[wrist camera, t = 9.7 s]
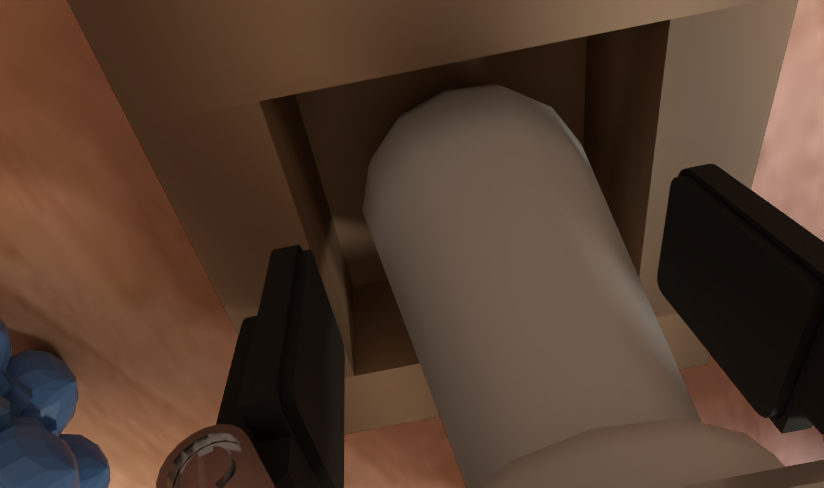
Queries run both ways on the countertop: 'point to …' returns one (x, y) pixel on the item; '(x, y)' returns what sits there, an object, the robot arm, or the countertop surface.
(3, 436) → the grapes
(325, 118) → the shaker holder
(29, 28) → the countertop surface
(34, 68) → the countertop surface
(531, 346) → the salt shaker
